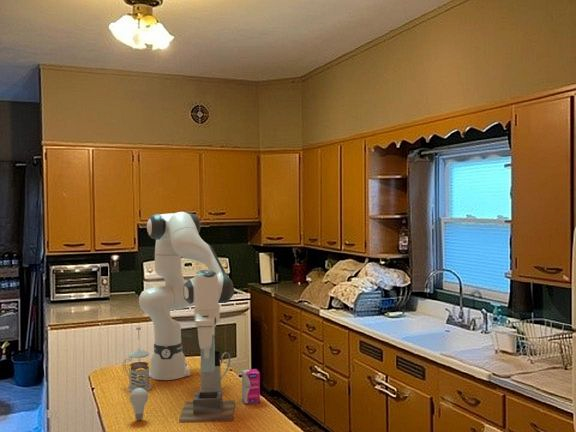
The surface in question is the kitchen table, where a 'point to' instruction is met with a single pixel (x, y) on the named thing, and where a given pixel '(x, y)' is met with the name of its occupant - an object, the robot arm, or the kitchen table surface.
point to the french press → (140, 382)
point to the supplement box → (250, 386)
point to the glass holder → (213, 375)
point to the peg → (208, 359)
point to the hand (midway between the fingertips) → (207, 355)
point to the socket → (207, 408)
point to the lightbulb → (138, 401)
